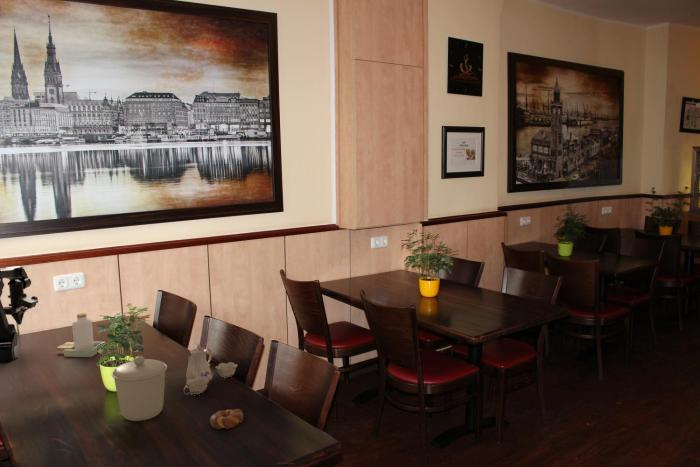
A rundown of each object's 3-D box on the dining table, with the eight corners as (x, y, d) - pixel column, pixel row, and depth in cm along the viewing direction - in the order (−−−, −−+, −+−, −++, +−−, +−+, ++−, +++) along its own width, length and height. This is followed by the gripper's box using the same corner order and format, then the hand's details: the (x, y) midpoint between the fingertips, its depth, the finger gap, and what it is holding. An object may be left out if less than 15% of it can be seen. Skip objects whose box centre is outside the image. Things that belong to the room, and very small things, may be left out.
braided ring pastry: (231, 412, 200) (231, 402, 199) (251, 421, 193) (251, 411, 192) (202, 424, 191) (202, 413, 190) (222, 434, 184) (222, 423, 183)
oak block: (71, 355, 263) (70, 347, 263) (57, 354, 264) (56, 347, 264) (81, 349, 271) (81, 342, 271) (68, 349, 272) (67, 342, 272)
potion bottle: (74, 350, 268) (71, 313, 266) (94, 348, 272) (91, 311, 270) (74, 355, 261) (71, 317, 259) (94, 353, 264) (91, 315, 262)
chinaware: (202, 405, 209) (203, 362, 207) (164, 395, 215) (166, 353, 212) (242, 378, 235) (244, 339, 233) (207, 369, 241) (209, 332, 238)
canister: (115, 408, 204) (111, 352, 201) (168, 400, 210) (165, 345, 207) (113, 430, 187) (109, 369, 184) (171, 421, 193) (167, 361, 190)
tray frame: (91, 357, 259) (90, 350, 259) (64, 356, 260) (63, 350, 260) (106, 347, 272) (105, 341, 272) (80, 347, 273) (79, 341, 273)
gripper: (19, 297, 259) (22, 330, 261) (45, 288, 277) (47, 319, 279) (-4, 297, 260) (-1, 330, 262) (23, 288, 279) (26, 319, 280)
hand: (19, 324), depth 271 cm, fingers closed
